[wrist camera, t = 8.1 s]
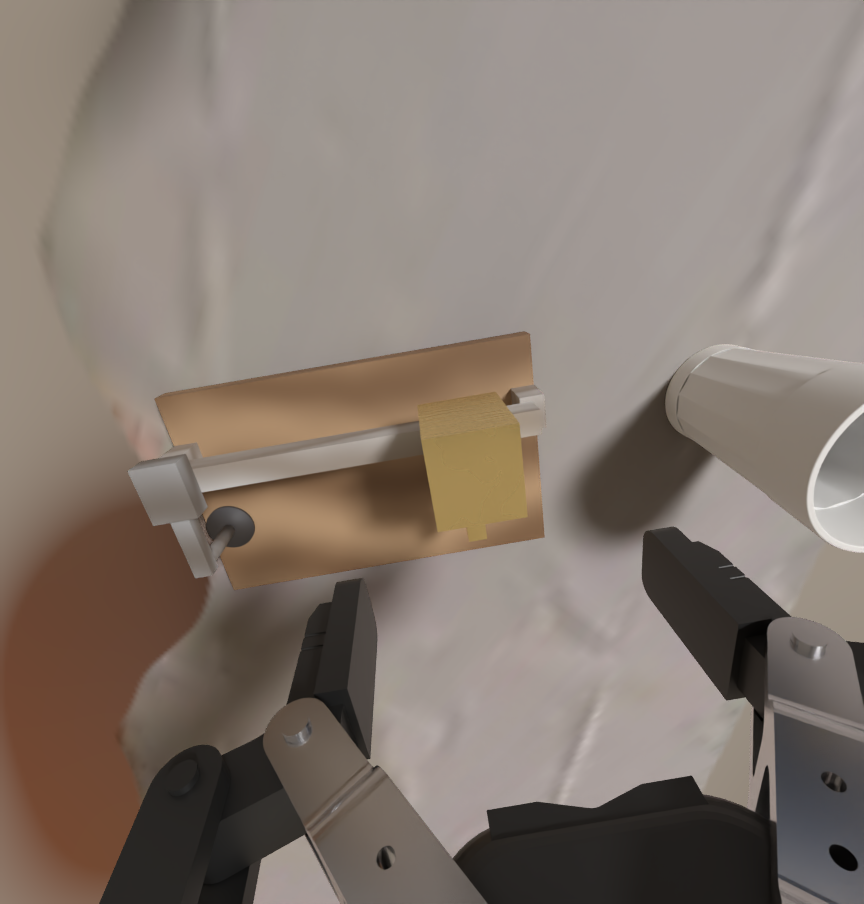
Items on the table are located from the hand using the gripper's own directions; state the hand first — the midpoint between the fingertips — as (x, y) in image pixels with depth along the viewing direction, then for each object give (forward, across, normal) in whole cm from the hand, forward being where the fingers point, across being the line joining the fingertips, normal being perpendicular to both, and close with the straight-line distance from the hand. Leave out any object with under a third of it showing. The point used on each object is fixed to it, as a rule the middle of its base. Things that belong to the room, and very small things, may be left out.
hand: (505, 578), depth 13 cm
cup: (+17, -17, +2) cm, 24 cm away
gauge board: (+17, +6, +3) cm, 18 cm away
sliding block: (+15, 0, +2) cm, 15 cm away
